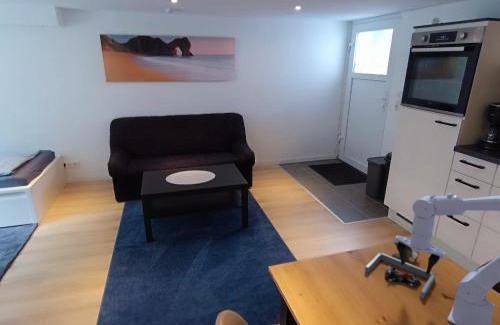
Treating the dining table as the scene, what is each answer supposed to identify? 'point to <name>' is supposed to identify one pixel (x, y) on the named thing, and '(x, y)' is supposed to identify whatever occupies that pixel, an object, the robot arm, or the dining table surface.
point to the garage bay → (406, 266)
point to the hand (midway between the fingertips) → (415, 268)
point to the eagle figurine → (409, 254)
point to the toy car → (401, 277)
